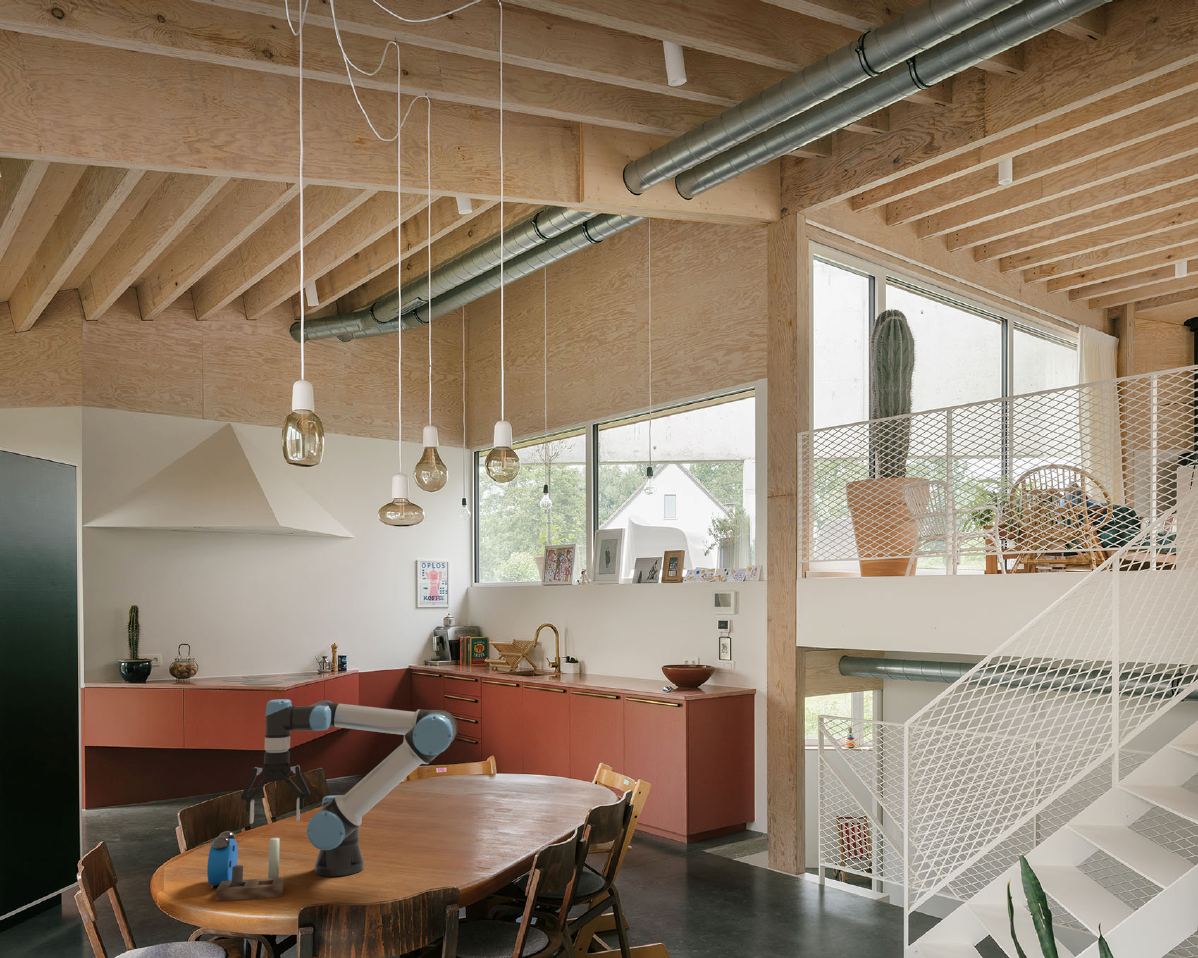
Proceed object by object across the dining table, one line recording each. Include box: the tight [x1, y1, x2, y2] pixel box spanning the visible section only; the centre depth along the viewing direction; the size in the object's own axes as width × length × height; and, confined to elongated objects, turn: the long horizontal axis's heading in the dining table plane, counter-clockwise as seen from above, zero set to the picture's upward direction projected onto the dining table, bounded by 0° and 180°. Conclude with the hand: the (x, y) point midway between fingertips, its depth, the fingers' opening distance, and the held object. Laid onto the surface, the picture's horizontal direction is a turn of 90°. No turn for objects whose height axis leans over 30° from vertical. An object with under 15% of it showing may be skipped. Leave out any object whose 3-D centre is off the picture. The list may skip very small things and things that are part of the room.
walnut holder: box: [215, 864, 286, 902], centre depth 281 cm, size 18×9×8 cm, turn 102°
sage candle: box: [267, 837, 281, 878], centre depth 292 cm, size 3×3×13 cm
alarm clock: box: [206, 830, 239, 889], centre depth 291 cm, size 13×6×15 cm, turn 8°
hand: (274, 821), depth 293 cm, fingers open, 13 cm apart
